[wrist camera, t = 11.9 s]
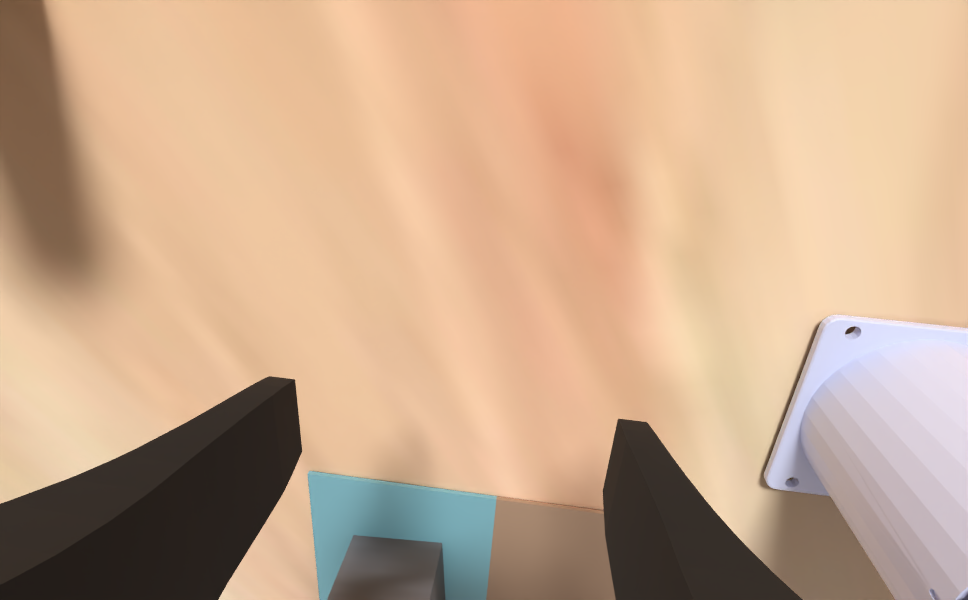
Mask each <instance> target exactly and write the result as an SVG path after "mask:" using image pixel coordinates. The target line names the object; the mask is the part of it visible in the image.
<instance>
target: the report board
mask: <svg viewBox="0 0 968 600" xmlns="http://www.w3.org/2000/svg"><path fill="white" fill-rule="evenodd" d="M308 482H309V493H310V504H311V514H312V525H313V535H314V546H315V556H316V567H317V577H318V588H319V598H320V600H327V598H328V596H329V594H330V591H331V589H332V586H333V584H334V581H335V579H336V576H337V574H338V572H339V569H340V567H341V564H342V562H343V559H344V557H345V554H346V552H347V549H348V547H349V545H350V542H351V540H352V537H353V535H358V536H370V537H381V538H393V539H404V540H416V541H427V542H439V543H442V548H443V565H444V583H445V600H616V599H615V593H614V587H613V581H612V575H611V569H610V563H609V557H608V551H607V545H606V538H605V525H604V511H602V510H595V509H588V508H580V507H573V506H565V505H558V504H551V503H543V502H536V501H528V500H521V499H513V498H506V497H499V496H491V495H484V494H476V493H469V492H462V491H454V490H447V489H439V488H432V487H425V486H417V485H410V484H402V483H395V482H388V481H380V480H373V479H365V478H358V477H351V476H343V475H336V474H328V473H321V472H314V471H309V473H308Z"/></svg>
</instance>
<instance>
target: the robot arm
mask: <svg viewBox="0 0 968 600" xmlns="http://www.w3.org/2000/svg"><path fill="white" fill-rule="evenodd" d="M854 326H855V330H854V331H853V332H852V333H850V334H845V332H846V330H847V329H848V328H850V327H854ZM301 453H302V445H301V435H300V425H299V415H298V405H297V395H296V385H295V379H286V378H278V377H270V376H269V377H267V378H265V379H263V380H261V381H259V382H257V383H255V384H253V385H251V386H250V387H248V388H246V389H244V390H243V391H241V392H239V393H237V394H236V395H234V396H232V397H230V398H229V399H227V400H225V401H223V402H222V403H220V404H218V405H216V406H215V407H213V408H211V409H209V410H208V411H206V412H204V413H202V414H201V415H199V416H197V417H195V418H194V419H192V420H190V421H188V422H186V423H185V424H183V425H181V426H179V427H177V428H175V429H173V430H171V431H169V432H167V433H165V434H164V435H162V436H160V437H158V438H156V439H154V440H152V441H150V442H148V443H146V444H144V445H142V446H141V447H139V448H137V449H135V450H132V451H130V452H128V453H126V454H124V455H122V456H120V457H118V458H116V459H113V460H111V461H109V462H107V463H104V464H102V465H100V466H97V467H95V468H93V469H91V470H88V471H86V472H84V473H81V474H79V475H76V476H74V477H72V478H69V479H67V480H64V481H61V482H59V483H56V484H53V485H50V486H48V487H45V488H42V489H40V490H37V491H34V492H32V493H29V494H26V495H24V496H21V497H18V498H16V499H13V500H10V501H7V502H4V503H1V504H0V600H218V599H219V597H220V595H221V594H222V592H223V590H224V588H225V587H226V585H227V583H228V581H229V580H230V578H231V577H232V575H233V573H234V572H235V570H236V569H237V567H238V565H239V564H240V562H241V561H242V559H243V557H244V556H245V554H246V553H247V551H248V549H249V548H250V546H251V544H252V543H253V541H254V540H255V538H256V536H257V535H258V533H259V532H260V530H261V528H262V527H263V525H264V524H265V522H266V520H267V519H268V517H269V515H270V514H271V512H272V511H273V509H274V507H275V506H276V504H277V502H278V501H279V499H280V497H281V496H282V494H283V492H284V490H285V488H286V486H287V484H288V482H289V480H290V478H291V476H292V473H293V471H294V469H295V466H296V464H297V462H298V460H299V457H300V455H301ZM789 478H793V479H792V480H787V479H789ZM764 479H765V481H766V483H767V485H768V486H769V487H771V488H773V489H778V490H786V491H794V492H801V493H809V494H817V495H825V496H830V497H831V498H832V500H833V502H834V503H835V505H836V506H837V508H838V510H839V511H840V513H841V514H842V516H843V518H844V519H845V521H846V522H847V524H848V525H849V527H850V529H851V530H852V532H853V533H854V535H855V537H856V538H857V540H858V541H859V543H860V545H861V546H862V548H863V549H864V551H865V553H866V554H867V556H868V557H869V559H870V561H871V562H872V564H873V565H874V567H875V568H876V570H877V572H878V573H879V575H880V576H881V578H882V580H883V581H884V583H885V584H886V586H887V588H888V589H889V591H890V592H891V594H892V596H893V597H894V599H895V600H968V328H961V327H952V326H942V325H933V324H923V323H914V322H904V321H895V320H885V319H876V318H866V317H857V316H847V315H831V316H829V317H826V318H825V319H824V320H823V321H822V322H821V324H820V325H819V328H818V331H817V333H816V336H815V339H814V341H813V344H812V347H811V349H810V352H809V355H808V357H807V360H806V363H805V365H804V368H803V371H802V373H801V376H800V379H799V381H798V384H797V387H796V389H795V392H794V395H793V397H792V400H791V403H790V405H789V408H788V411H787V413H786V416H785V419H784V421H783V424H782V427H781V429H780V432H779V435H778V437H777V440H776V443H775V446H774V448H773V451H772V454H771V456H770V459H769V462H768V464H767V467H766V470H765V472H764ZM786 480H787V481H786ZM603 505H604V525H605V538H606V545H607V551H608V557H609V563H610V569H611V575H612V581H613V587H614V593H615V599H616V600H803V599H801V598H800V597H799V596H798V595H797V594H796V593H794V592H793V591H792V590H791V589H790V588H789V587H788V586H787V585H786V584H785V583H784V582H782V581H781V580H780V579H779V578H778V577H777V576H776V575H775V574H774V573H773V572H772V571H771V570H770V569H769V568H768V567H767V566H766V565H765V564H764V563H763V562H762V561H761V560H760V559H759V558H758V557H757V556H756V555H755V554H754V553H753V552H752V551H751V550H749V549H748V547H747V546H746V545H745V544H744V543H743V542H742V541H741V540H740V539H739V538H738V537H737V536H736V535H735V534H734V533H733V532H732V530H731V529H730V528H729V527H728V526H727V525H726V524H725V523H724V521H723V520H722V519H721V518H720V517H719V516H718V515H717V513H716V512H715V511H714V510H713V509H712V508H711V506H710V505H709V504H708V503H707V502H706V500H705V499H704V498H703V497H702V495H701V494H700V493H699V491H698V490H697V489H696V488H695V486H694V485H693V484H692V483H691V481H690V480H689V479H688V478H687V476H686V475H685V474H684V472H683V471H682V470H681V468H680V467H679V466H678V464H677V463H676V462H675V460H674V459H673V457H672V456H671V455H670V453H669V452H668V451H667V449H666V448H665V446H664V445H663V444H662V442H661V441H660V439H659V438H658V436H657V435H656V434H655V432H654V431H653V430H652V428H651V427H650V426H649V424H648V423H647V422H641V421H632V420H624V419H618V422H617V426H616V431H615V436H614V441H613V445H612V450H611V455H610V460H609V464H608V469H607V474H606V479H605V483H604V488H603Z"/></svg>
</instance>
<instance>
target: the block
mask: <svg viewBox="0 0 968 600" xmlns="http://www.w3.org/2000/svg"><path fill="white" fill-rule="evenodd" d="M327 600H445V583H444V565H443V548H442V543H439V542H427V541H416V540H404V539H393V538H381V537H370V536H358V535H353V537H352V540H351V542H350V545H349V547H348V549H347V552H346V554H345V557H344V559H343V562H342V564H341V567H340V569H339V572H338V574H337V576H336V579H335V581H334V584H333V586H332V589H331V591H330V594H329V596H328V598H327Z"/></svg>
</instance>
